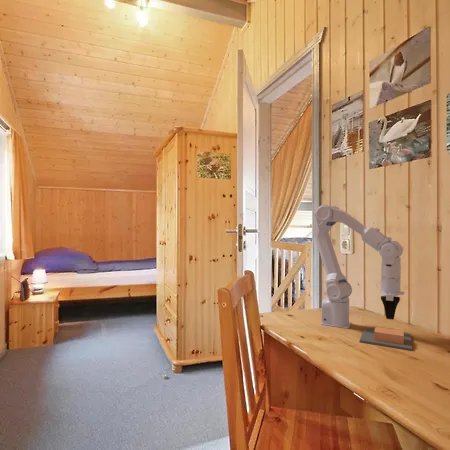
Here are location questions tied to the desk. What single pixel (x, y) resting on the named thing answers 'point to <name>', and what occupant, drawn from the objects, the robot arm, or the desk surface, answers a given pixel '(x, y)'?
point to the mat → (369, 338)
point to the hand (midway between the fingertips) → (389, 318)
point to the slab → (389, 335)
